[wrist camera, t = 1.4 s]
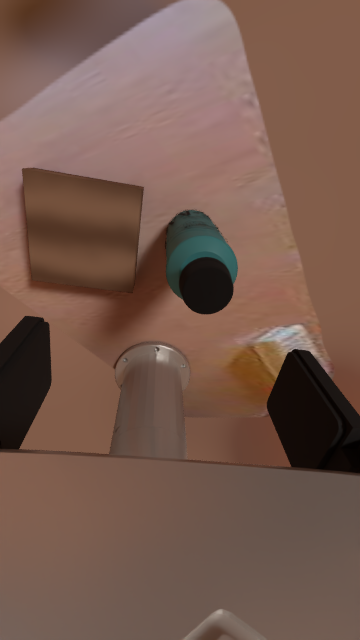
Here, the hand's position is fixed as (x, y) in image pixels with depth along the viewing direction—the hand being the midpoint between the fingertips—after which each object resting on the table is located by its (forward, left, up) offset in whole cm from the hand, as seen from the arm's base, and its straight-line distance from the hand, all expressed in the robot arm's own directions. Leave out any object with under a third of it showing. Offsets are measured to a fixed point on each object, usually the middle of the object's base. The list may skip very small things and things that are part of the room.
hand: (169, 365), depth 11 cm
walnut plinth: (-3, +10, -30) cm, 32 cm away
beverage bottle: (-1, -3, -30) cm, 31 cm away
